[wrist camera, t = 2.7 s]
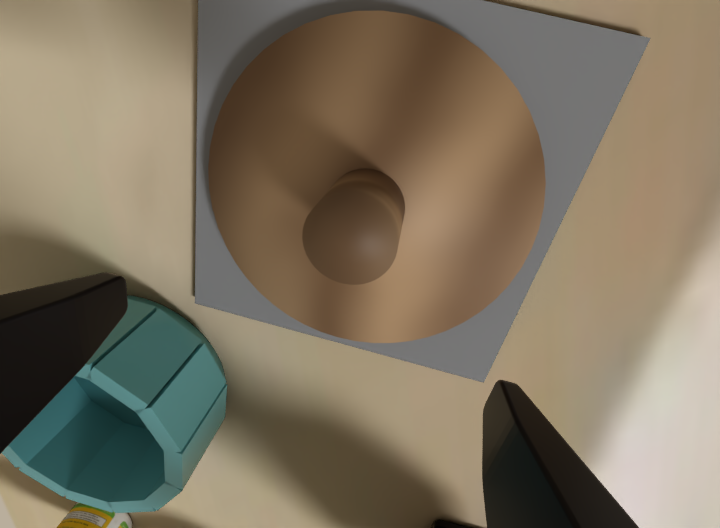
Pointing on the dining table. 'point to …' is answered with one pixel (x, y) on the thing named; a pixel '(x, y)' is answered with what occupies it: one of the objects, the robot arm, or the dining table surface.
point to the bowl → (129, 416)
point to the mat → (522, 66)
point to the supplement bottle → (94, 518)
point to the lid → (376, 176)
